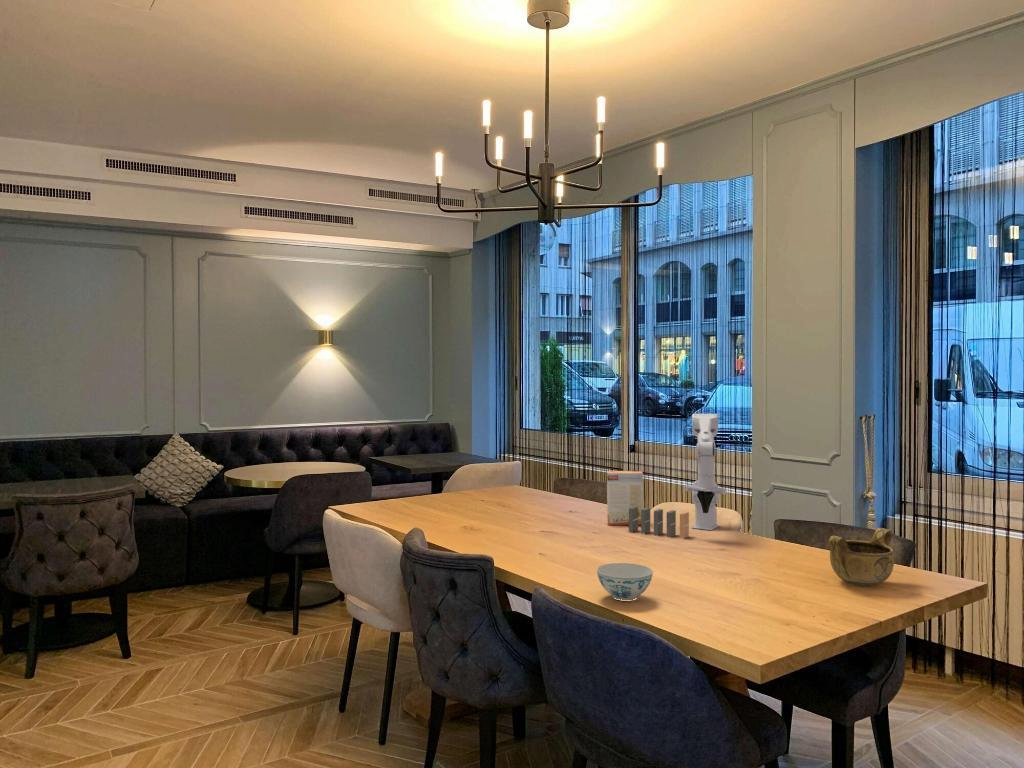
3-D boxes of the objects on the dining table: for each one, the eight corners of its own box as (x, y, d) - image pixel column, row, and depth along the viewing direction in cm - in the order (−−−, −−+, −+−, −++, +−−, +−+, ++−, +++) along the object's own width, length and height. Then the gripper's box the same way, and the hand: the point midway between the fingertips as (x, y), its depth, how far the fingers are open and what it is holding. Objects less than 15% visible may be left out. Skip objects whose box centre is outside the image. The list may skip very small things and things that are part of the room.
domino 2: (658, 532, 289) (658, 508, 289) (663, 533, 288) (663, 509, 288) (653, 535, 285) (653, 510, 285) (657, 535, 284) (657, 511, 284)
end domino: (634, 529, 294) (634, 506, 294) (638, 530, 294) (638, 506, 293) (628, 532, 290) (628, 508, 290) (632, 532, 289) (632, 508, 289)
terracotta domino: (684, 535, 284) (684, 511, 283) (688, 536, 283) (688, 511, 282) (679, 538, 279) (679, 513, 279) (684, 538, 278) (684, 514, 278)
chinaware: (663, 597, 209) (663, 569, 208) (632, 610, 198) (633, 580, 197) (617, 587, 219) (617, 559, 218) (585, 598, 208) (585, 570, 207)
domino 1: (646, 531, 292) (646, 507, 292) (650, 531, 291) (650, 507, 291) (641, 533, 288) (641, 509, 287) (645, 534, 287) (645, 510, 286)
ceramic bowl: (863, 572, 233) (863, 523, 233) (914, 586, 218) (914, 534, 217) (809, 581, 223) (810, 530, 223) (859, 597, 208) (859, 542, 208)
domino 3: (671, 534, 286) (671, 510, 286) (675, 534, 285) (675, 510, 285) (666, 536, 282) (666, 512, 282) (670, 537, 281) (670, 512, 281)
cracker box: (642, 522, 307) (642, 470, 306) (643, 526, 301) (643, 472, 300) (606, 522, 308) (606, 470, 308) (607, 525, 302) (607, 472, 302)
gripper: (682, 474, 277) (682, 512, 277) (722, 477, 269) (722, 516, 269) (689, 472, 283) (689, 509, 283) (728, 475, 275) (728, 513, 275)
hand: (705, 512), depth 277 cm, fingers closed
